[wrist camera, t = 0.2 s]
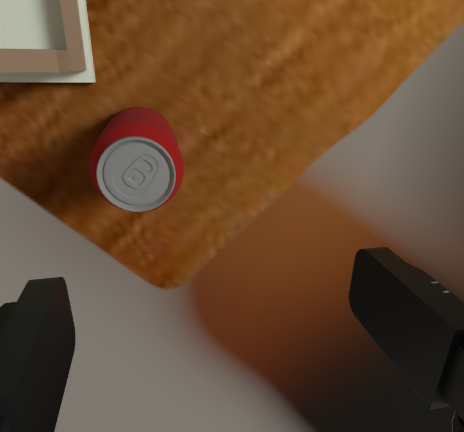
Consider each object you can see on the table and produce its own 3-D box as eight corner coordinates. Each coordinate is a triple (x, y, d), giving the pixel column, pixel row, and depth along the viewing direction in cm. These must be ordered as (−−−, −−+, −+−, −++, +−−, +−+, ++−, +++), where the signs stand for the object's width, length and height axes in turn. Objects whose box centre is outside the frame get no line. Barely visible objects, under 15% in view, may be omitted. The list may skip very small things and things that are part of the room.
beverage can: (89, 144, 35) (63, 182, 24) (134, 90, 34) (128, 104, 23) (145, 187, 38) (144, 238, 27) (188, 138, 37) (205, 171, 26)
